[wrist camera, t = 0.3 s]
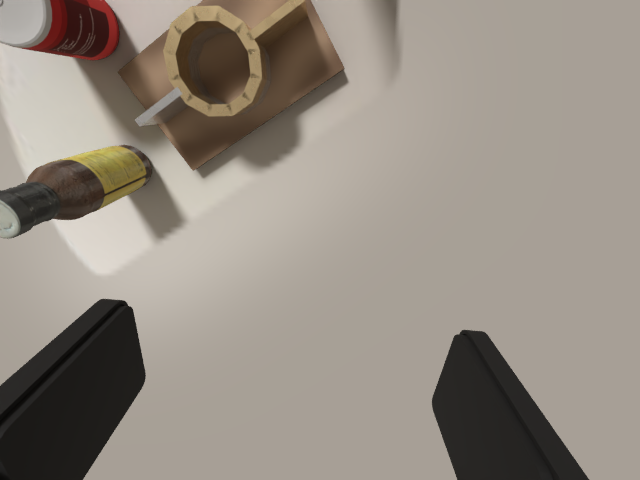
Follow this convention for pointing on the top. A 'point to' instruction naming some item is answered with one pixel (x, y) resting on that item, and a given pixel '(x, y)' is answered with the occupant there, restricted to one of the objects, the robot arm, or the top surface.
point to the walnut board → (236, 78)
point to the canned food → (60, 27)
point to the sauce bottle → (72, 188)
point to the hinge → (187, 47)
